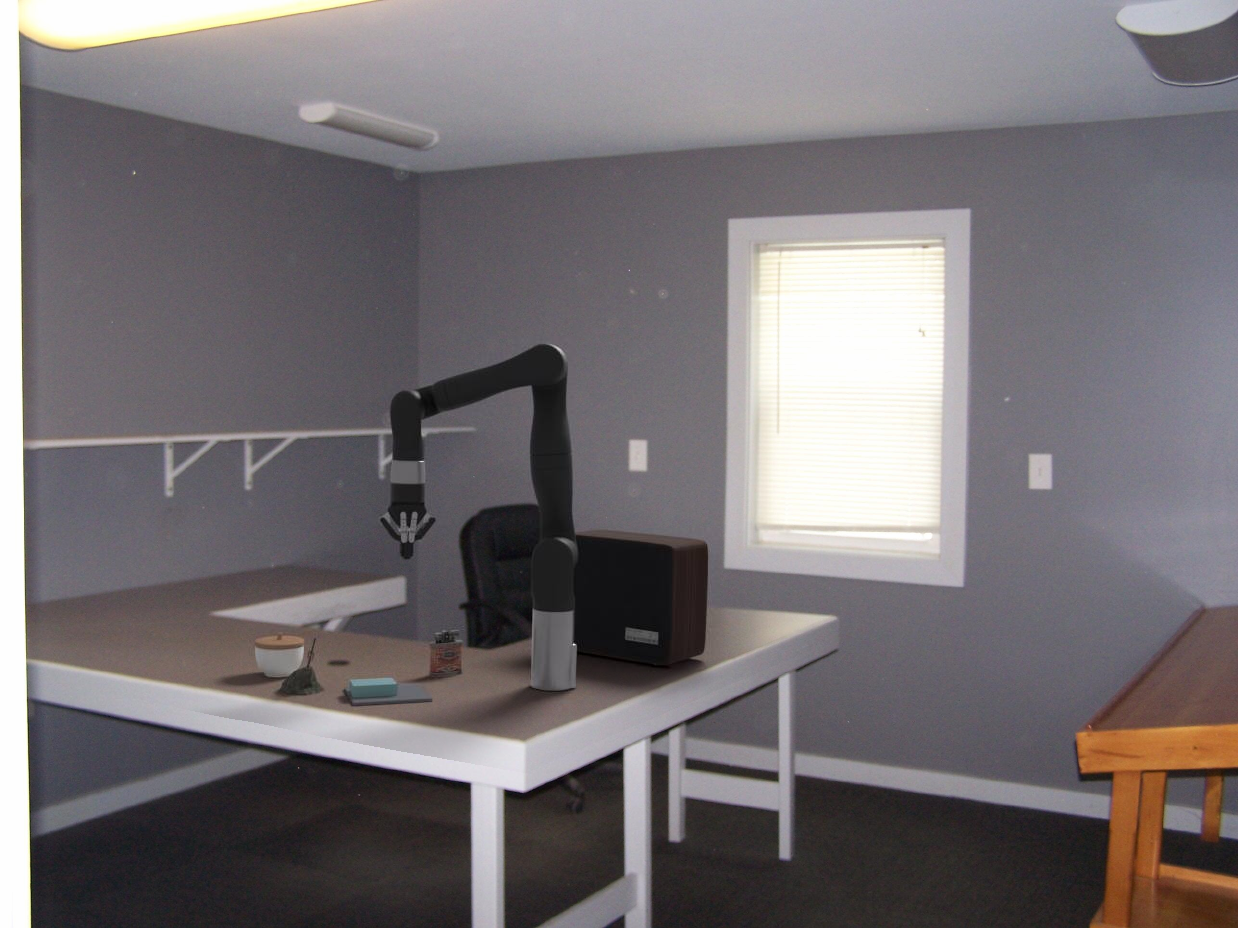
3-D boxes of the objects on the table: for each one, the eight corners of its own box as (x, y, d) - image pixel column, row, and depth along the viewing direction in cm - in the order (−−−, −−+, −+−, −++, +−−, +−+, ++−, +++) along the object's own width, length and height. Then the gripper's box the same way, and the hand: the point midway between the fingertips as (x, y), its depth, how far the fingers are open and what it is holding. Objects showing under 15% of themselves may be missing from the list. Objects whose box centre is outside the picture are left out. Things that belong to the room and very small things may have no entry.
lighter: (433, 677, 274) (434, 633, 274) (426, 674, 277) (427, 631, 276) (464, 673, 279) (465, 630, 278) (457, 671, 282) (458, 628, 281)
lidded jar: (285, 667, 280) (285, 626, 280) (313, 674, 274) (314, 633, 273) (244, 674, 272) (245, 632, 272) (272, 682, 265) (273, 639, 265)
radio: (708, 659, 303) (712, 539, 302) (671, 671, 289) (675, 544, 287) (590, 640, 324) (593, 527, 322) (549, 650, 309) (552, 532, 307)
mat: (419, 685, 266) (419, 683, 266) (432, 701, 253) (432, 698, 253) (344, 689, 260) (344, 686, 260) (353, 705, 247) (353, 702, 247)
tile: (392, 677, 260) (349, 679, 257) (397, 683, 254) (353, 686, 251) (392, 688, 260) (349, 690, 257) (397, 695, 254) (353, 697, 251)
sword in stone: (269, 690, 258) (270, 635, 258) (298, 684, 265) (298, 630, 264) (302, 698, 253) (303, 641, 252) (330, 691, 260) (331, 636, 259)
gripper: (380, 482, 263) (379, 561, 264) (441, 482, 268) (439, 560, 269) (374, 479, 270) (373, 557, 271) (433, 480, 275) (432, 556, 276)
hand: (406, 559), depth 270 cm, fingers closed
